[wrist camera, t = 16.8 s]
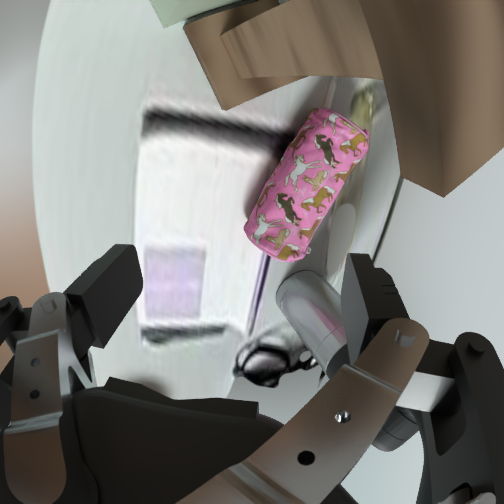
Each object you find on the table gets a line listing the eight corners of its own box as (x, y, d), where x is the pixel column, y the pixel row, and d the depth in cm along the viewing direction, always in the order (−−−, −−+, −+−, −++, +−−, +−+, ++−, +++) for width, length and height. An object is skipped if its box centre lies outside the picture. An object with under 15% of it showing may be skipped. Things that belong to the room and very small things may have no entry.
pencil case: (280, 244, 48) (309, 274, 41) (232, 226, 43) (255, 257, 36) (346, 128, 42) (387, 140, 35) (304, 96, 37) (343, 101, 30)
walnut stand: (282, -3, 28) (520, -50, 3) (312, 72, 35) (551, 115, 10) (167, 34, 27) (336, -138, 1) (207, 116, 34) (442, 221, 9)
